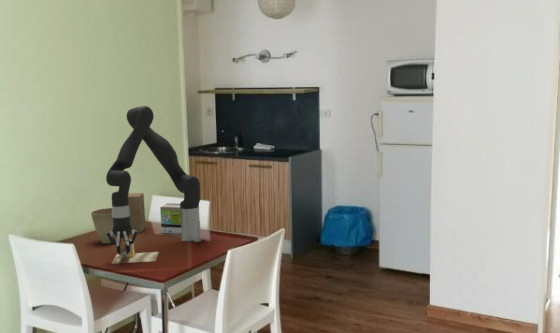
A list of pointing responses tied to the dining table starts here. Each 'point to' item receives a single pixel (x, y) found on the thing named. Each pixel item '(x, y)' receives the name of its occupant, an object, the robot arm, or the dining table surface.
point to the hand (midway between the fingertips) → (123, 253)
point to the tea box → (171, 218)
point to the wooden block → (137, 211)
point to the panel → (137, 258)
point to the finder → (130, 250)
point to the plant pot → (103, 223)
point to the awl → (123, 248)
